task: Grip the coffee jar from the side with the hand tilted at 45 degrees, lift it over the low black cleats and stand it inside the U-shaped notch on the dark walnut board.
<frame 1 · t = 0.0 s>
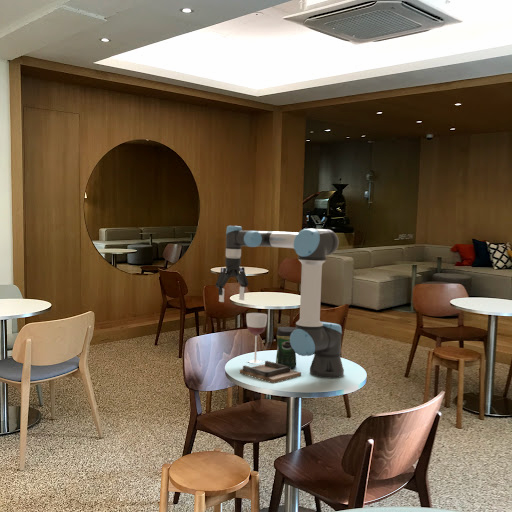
hand: (231, 300, 277), 28 cm above the table, tool pointing down, fingers open, 13 cm apart
coffee jar: (285, 367, 264), on the table
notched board: (270, 374, 249), on the table
wineglass: (255, 362, 271), on the table
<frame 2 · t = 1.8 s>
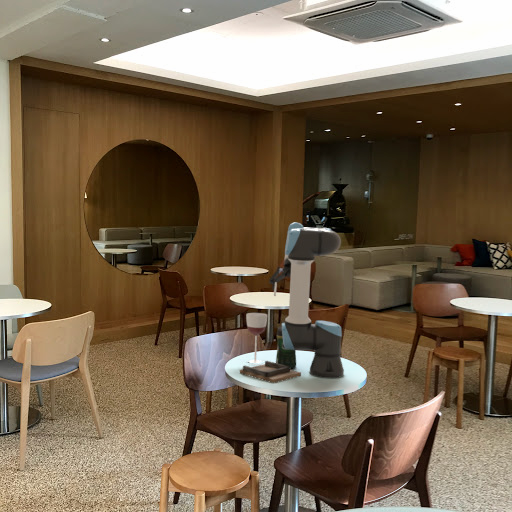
hand: (288, 295, 273), 32 cm above the table, tool tilted 45°, fingers open, 13 cm apart
nothing on the table moved.
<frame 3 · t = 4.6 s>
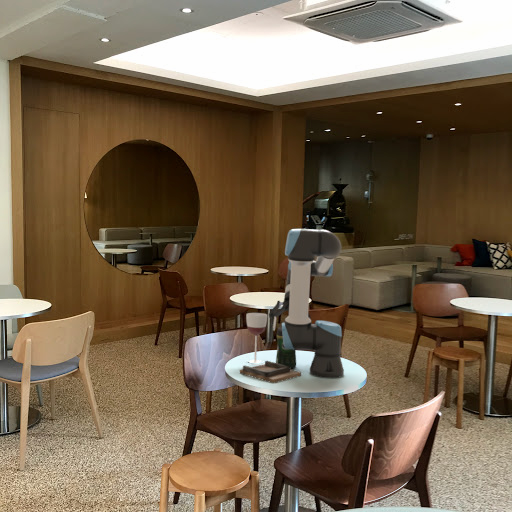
hand: (287, 330, 270), 16 cm above the table, tool tilted 45°, fingers open, 13 cm apart
nothing on the table moved.
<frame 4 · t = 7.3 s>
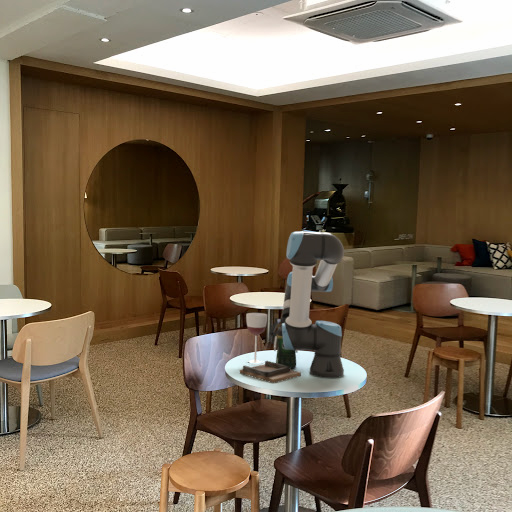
hand: (285, 350, 260), 8 cm above the table, tool tilted 45°, fingers closed on coffee jar, 9 cm apart
coffee jar: (285, 367, 264), on the table, touching gripper
everything else where it was.
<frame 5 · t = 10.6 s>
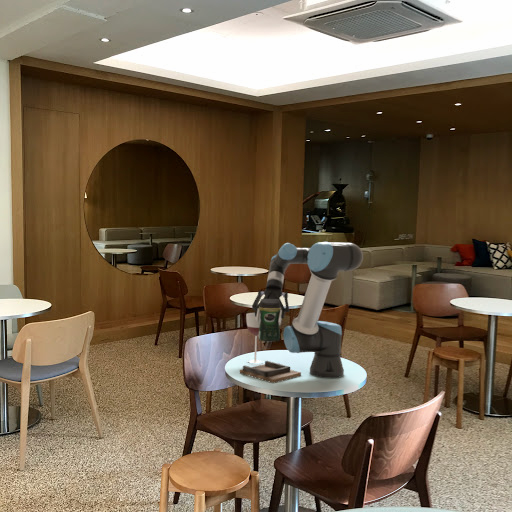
hand: (268, 322, 249), 23 cm above the table, tool tilted 45°, fingers closed on coffee jar, 9 cm apart
coffee jar: (268, 340, 253), point 14 cm above the table, touching gripper
everything else where it was.
when the fingers open (11 cm above the table, at t = 14.3 s): coffee jar drops 1 cm, resting on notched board.
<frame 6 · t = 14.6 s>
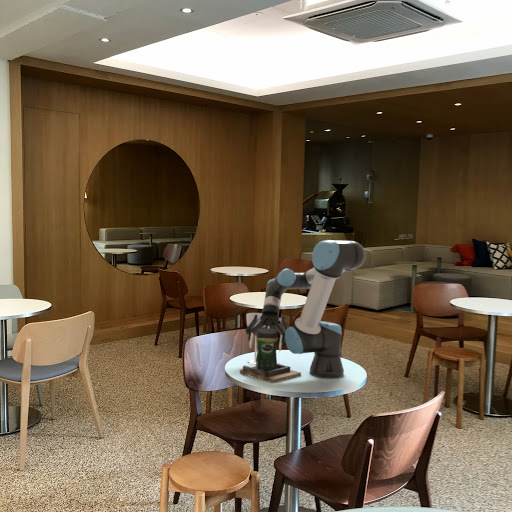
hand: (265, 348, 246), 12 cm above the table, tool tilted 45°, fingers open, 12 cm apart
coffee jar: (265, 370, 250), point 1 cm above the table, touching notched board
everything else where it was.
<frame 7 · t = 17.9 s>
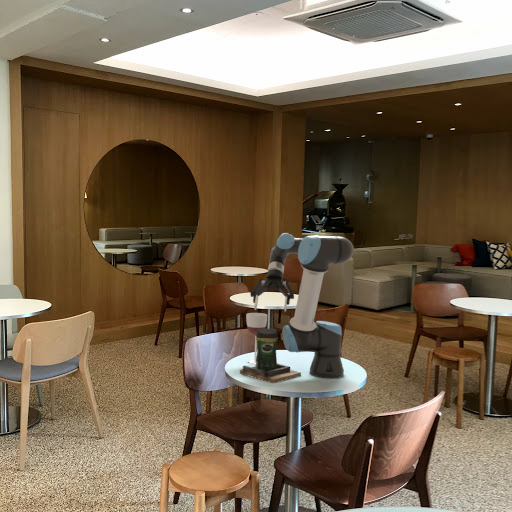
hand: (270, 308, 256), 28 cm above the table, tool tilted 45°, fingers open, 13 cm apart
nothing on the table moved.
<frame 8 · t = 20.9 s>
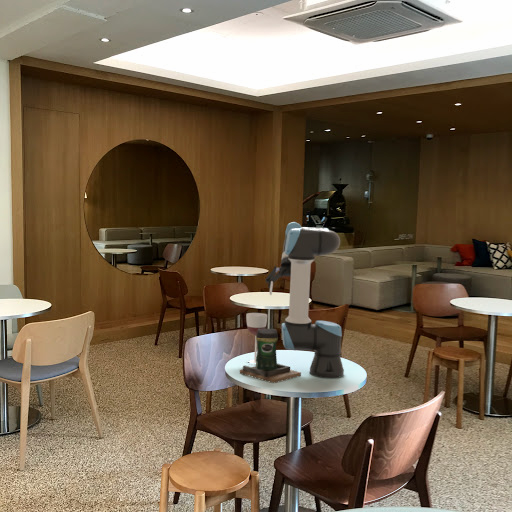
hand: (284, 294, 273), 33 cm above the table, tool tilted 45°, fingers open, 13 cm apart
nothing on the table moved.
at the end: coffee jar inside the target area on the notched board (0.2 cm from its centre), point 1.3 cm above the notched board's base; coffee jar tilted 0°; the gripper is holding nothing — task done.
